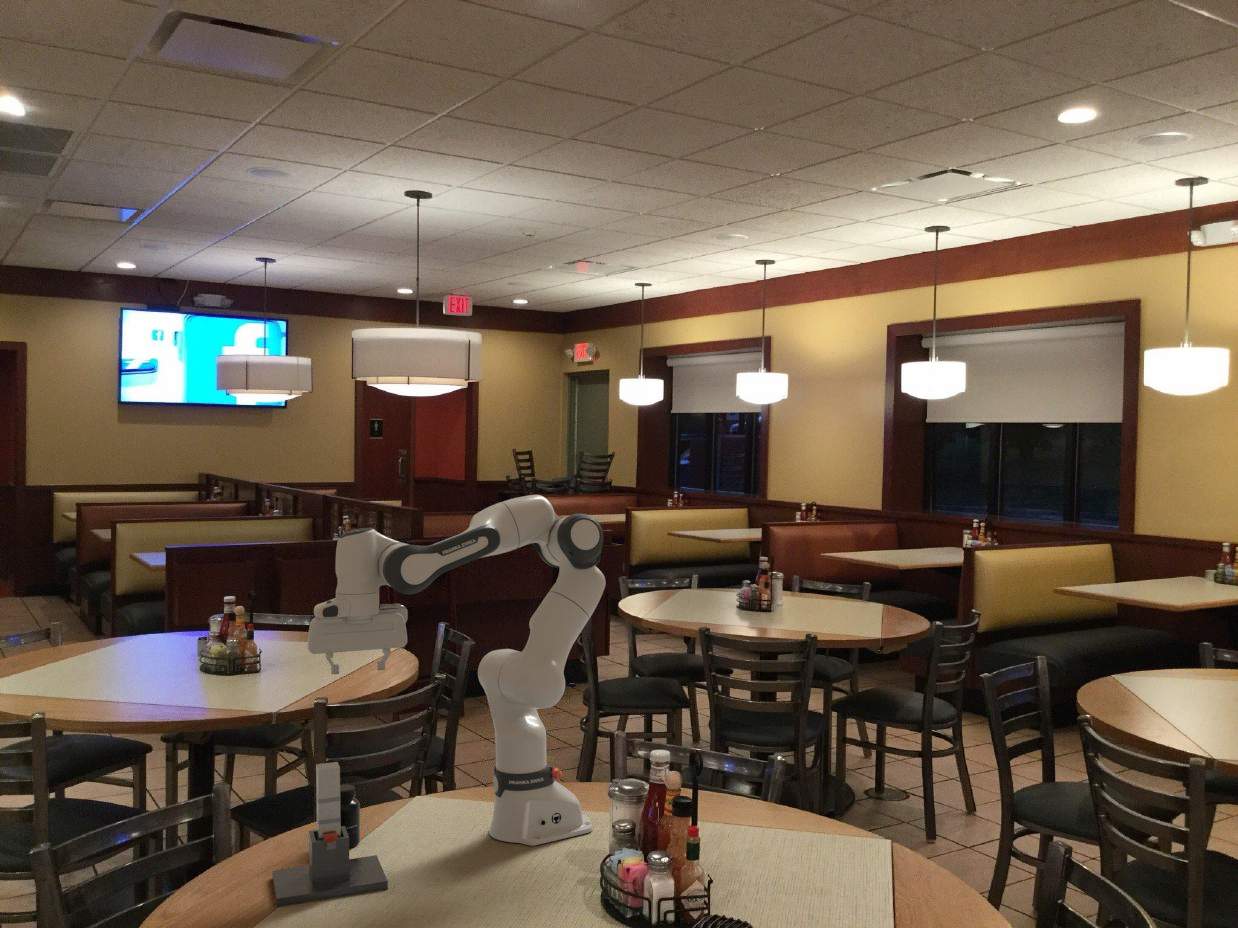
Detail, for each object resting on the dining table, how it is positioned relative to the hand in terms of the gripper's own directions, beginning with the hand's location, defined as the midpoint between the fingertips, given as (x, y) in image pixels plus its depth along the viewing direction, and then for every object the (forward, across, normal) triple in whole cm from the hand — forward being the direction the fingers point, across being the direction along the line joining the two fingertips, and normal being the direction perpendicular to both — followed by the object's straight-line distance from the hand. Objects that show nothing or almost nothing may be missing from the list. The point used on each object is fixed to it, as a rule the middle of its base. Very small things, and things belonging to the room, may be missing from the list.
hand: (358, 671), depth 214 cm
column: (+30, +8, +16) cm, 35 cm away
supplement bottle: (+37, +3, -4) cm, 38 cm away
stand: (+37, +8, +16) cm, 41 cm away
